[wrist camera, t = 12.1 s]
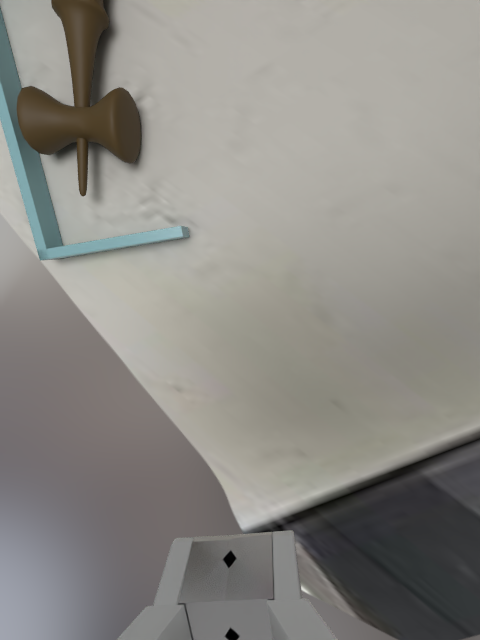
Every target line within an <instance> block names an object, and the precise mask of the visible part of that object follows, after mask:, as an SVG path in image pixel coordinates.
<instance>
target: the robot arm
mask: <svg viewBox="0 0 480 640" xmlns="http://www.w3.org/2000/svg"><path fill="white" fill-rule="evenodd" d="M117 640H338V639H337V638H336V637H335V635H334V634H333V633H332V631H331V630H330V629H329V627H328V626H327V625H326V623H325V622H324V620H323V619H322V618H321V617H320V615H319V614H318V612H317V611H316V610H315V608H314V607H313V606H312V604H311V603H310V601H309V600H308V599H302V592H301V584H300V577H299V569H298V562H297V554H296V547H295V540H294V533H293V531H279V532H267V533H254V534H241V535H234V536H209V537H194V538H176V539H175V540H174V542H173V543H172V545H171V548H170V552H169V555H168V558H167V561H166V565H165V568H164V571H163V575H162V578H161V581H160V584H159V587H158V591H157V594H156V597H155V601H154V604H153V606H147V607H146V608H145V609H144V610H143V611H142V612H141V613H140V614H139V615H138V617H137V618H136V619H135V620H134V621H133V622H132V623H131V624H130V625H129V626H128V628H127V629H126V630H125V631H124V632H123V633H122V634H121V635H120V637H119V638H118V639H117Z"/></svg>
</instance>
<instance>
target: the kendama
mask: <svg viewBox="0 0 480 640" xmlns="http://www.w3.org/2000/svg"><path fill="white" fill-rule="evenodd" d="M51 1H52V8H53V9H54V11H55V12H56V14H57V15H58V16H59V17H60V19H61V21H62V24H63V27H64V31H65V36H66V41H67V47H68V54H69V61H70V68H71V76H72V84H73V94H74V106H75V107H74V106H68V105H64V104H62V103H60V102H58V101H57V100H56V99H54V98H53V97H51V96H50V95H48V94H47V93H45V92H44V91H42V90H40V89H37V88H35V87H33V86H29V87H25V88H22V89H21V91H20V93H19V95H18V97H17V117H18V123H19V127H20V129H21V132H22V135H23V137H24V139H25V140H26V141H27V143H28V144H29V145H30V147H31V148H33V149H34V150H36V151H37V152H38V153H41V154H46V155H51V154H54V153H55V152H57V151H59V150H61V149H62V148H64V147H66V146H67V145H69V144H71V143H73V142H77V161H78V181H79V191H80V194H81V196H85V195H86V191H87V174H88V142H96V143H98V144H101V145H102V146H104V147H105V148H107V149H108V150H109V151H110V152H112V153H113V154H114V155H115V156H117V157H118V158H119V159H120V160H122V161H124V162H127V163H133V162H134V161H135V160H137V157H138V154H139V151H140V145H141V124H140V118H139V113H138V110H137V107H136V104H135V102H134V100H133V98H132V97H131V95H130V93H129V92H128V91H127V90H125V89H124V88H120V87H119V88H117V89H114V90H112V91H111V92H109V93H108V94H107V95H106V96H105V97H104V98H102V99H101V100H100V101H99V102H98V103H96V104H95V105H93V106H91V107H90V99H91V88H92V78H93V70H94V62H95V56H96V50H97V45H98V40H99V37H100V34H101V33H102V31H104V30H105V29H107V28H108V26H109V18H108V16H107V13H106V11H105V10H104V6H103V0H51Z"/></svg>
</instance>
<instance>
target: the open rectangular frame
mask: <svg viewBox="0 0 480 640" xmlns="http://www.w3.org/2000/svg"><path fill="white" fill-rule="evenodd" d="M21 89H22V88H21V84H20V80H19V77H18V73H17V69H16V65H15V62H14V58H13V54H12V50H11V46H10V43H9V39H8V35H7V31H6V27H5V24H4V20H3V16H2V12H1V8H0V120H1V123H2V127H3V130H4V134H5V137H6V141H7V144H8V148H9V152H10V155H11V159H12V162H13V166H14V169H15V173H16V177H17V180H18V184H19V187H20V191H21V194H22V198H23V201H24V205H25V209H26V212H27V216H28V219H29V223H30V226H31V230H32V233H33V237H34V241H35V244H36V248H37V251H38V255H39V258H40V260H52V259H61V258H67V257H73V256H79V255H85V254H91V253H97V252H103V251H109V250H115V249H121V248H127V247H133V246H139V245H145V244H151V243H157V242H163V241H169V240H175V239H181V238H187V237H189V231H188V227H183V226H178V227H172V228H166V229H160V230H154V231H148V232H142V233H137V234H131V235H125V236H119V237H113V238H107V239H101V240H96V241H90V242H84V243H78V244H72V245H66V246H63V243H62V240H61V236H60V232H59V228H58V224H57V221H56V217H55V213H54V209H53V206H52V202H51V198H50V194H49V190H48V187H47V183H46V179H45V175H44V171H43V168H42V164H41V160H40V156H39V153H38V152H37V151H36V150H34V149H33V148H31V147H30V145H29V144H28V143H27V141H26V140H25V139H24V137H23V135H22V132H21V129H20V127H19V123H18V117H17V97H18V95H19V93H20V91H21Z"/></svg>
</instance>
